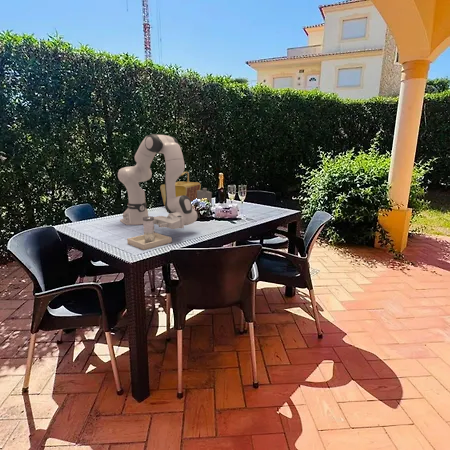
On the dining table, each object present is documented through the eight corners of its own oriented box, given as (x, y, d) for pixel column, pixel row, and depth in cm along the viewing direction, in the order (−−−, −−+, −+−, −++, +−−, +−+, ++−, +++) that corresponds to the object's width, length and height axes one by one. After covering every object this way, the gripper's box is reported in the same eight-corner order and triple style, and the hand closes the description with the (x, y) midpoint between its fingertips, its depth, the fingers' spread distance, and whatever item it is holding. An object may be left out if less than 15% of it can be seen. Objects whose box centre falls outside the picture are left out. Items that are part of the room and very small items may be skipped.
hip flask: (196, 211, 254) (196, 187, 249) (200, 211, 257) (200, 187, 252) (209, 214, 243) (209, 189, 238) (213, 214, 246) (213, 188, 241)
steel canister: (142, 242, 171) (140, 217, 167) (151, 239, 175) (149, 215, 172) (148, 244, 167) (146, 219, 164) (157, 241, 171) (155, 217, 168)
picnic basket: (177, 202, 294) (176, 170, 287) (201, 204, 285) (201, 171, 278) (160, 208, 268) (158, 173, 260) (186, 210, 259) (185, 174, 251)
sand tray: (127, 243, 170) (127, 238, 169) (154, 237, 183) (154, 232, 182) (144, 250, 160) (143, 244, 159) (171, 242, 172) (171, 237, 172)
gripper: (163, 212, 187) (143, 216, 177) (185, 217, 174) (165, 222, 164) (163, 222, 189) (144, 226, 179) (185, 228, 175) (165, 233, 166)
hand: (154, 224), depth 171 cm, fingers open, 8 cm apart
